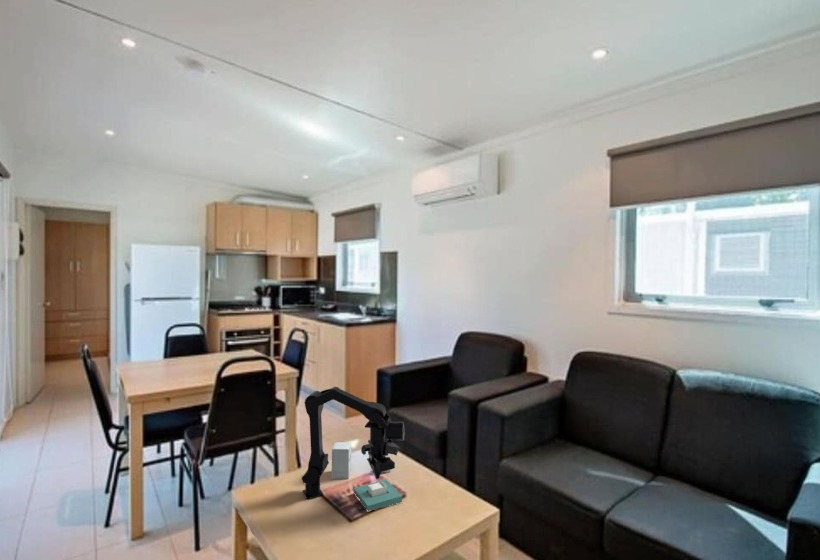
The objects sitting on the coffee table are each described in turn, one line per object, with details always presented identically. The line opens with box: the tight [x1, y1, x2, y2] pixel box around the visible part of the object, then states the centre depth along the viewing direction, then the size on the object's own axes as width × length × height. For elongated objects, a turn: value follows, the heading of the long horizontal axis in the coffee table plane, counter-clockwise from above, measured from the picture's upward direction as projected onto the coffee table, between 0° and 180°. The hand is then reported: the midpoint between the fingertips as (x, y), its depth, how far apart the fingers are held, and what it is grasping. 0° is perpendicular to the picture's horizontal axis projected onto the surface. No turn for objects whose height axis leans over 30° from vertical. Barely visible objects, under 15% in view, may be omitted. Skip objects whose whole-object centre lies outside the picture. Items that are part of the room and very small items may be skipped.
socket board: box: [353, 479, 403, 511], centre depth 161 cm, size 14×14×2 cm
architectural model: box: [382, 456, 391, 474], centre depth 183 cm, size 3×7×7 cm, turn 86°
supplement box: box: [331, 441, 352, 480], centre depth 179 cm, size 7×7×13 cm
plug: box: [368, 482, 387, 498], centre depth 161 cm, size 4×6×5 cm, turn 118°
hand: (377, 478), depth 161 cm, fingers closed
